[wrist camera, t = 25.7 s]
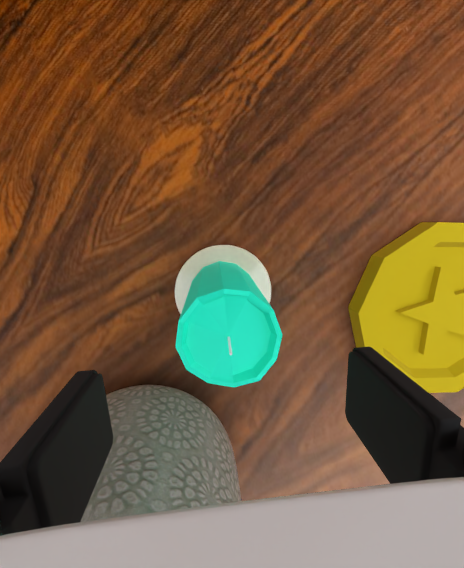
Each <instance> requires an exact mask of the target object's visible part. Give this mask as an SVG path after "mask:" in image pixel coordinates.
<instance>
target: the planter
mask: <svg viewBox="0 0 464 568" xmlns="http://www.w3.org/2000/svg"><path fill="white" fill-rule="evenodd" d="M106 399H107V404H108V410H109V415H110V420H111V426H112V431H113V444H112V447H111V450H110V452H109V455H108V457H107V459H106V462H105V464H104V466H103V469H102V471H101V474H100V476H99V478H98V481H97V483H96V486H95V488H94V490H93V493H92V495H91V497H90V500H89V502H88V505H87V507H86V509H85V512H84V514H83V516H82V519H81V521H80V522H86V521H93V520H100V519H108V518H115V517H123V516H131V515H139V514H146V513H154V512H162V511H170V510H177V509H185V508H193V507H201V506H209V505H217V504H225V503H233V502H241V495H240V488H239V480H238V472H237V467H236V462H235V457H234V452H233V448H232V445H231V442H230V439H229V437H228V434H227V432H226V430H225V428H224V426H223V425H222V423H221V422H220V420H219V419H218V417H217V416H216V415H215V414H214V412H213V411H212V410H211V409H210V408H209V407H208V406H206V405H205V404H204V403H203V402H202V401H200V400H199V399H197V398H196V397H194V396H192V395H190V394H188V393H186V392H184V391H181V390H179V389H175V388H172V387H167V386H161V385H138V386H132V387H127V388H123V389H120V390H117V391H114V392H111V393H109V394H107V395H106Z"/></svg>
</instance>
